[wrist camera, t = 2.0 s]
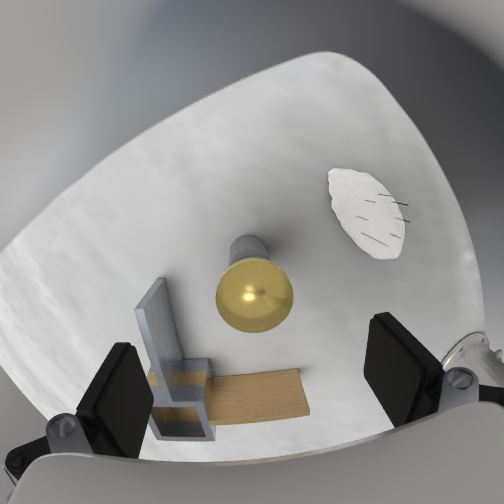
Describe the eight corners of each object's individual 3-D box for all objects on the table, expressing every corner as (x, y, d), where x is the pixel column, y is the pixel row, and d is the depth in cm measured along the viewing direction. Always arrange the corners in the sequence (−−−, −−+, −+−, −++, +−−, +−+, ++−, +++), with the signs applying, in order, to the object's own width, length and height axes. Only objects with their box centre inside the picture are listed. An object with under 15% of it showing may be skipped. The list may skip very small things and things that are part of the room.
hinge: (293, 264, 28) (311, 292, 21) (297, 390, 32) (308, 431, 25) (131, 280, 27) (103, 310, 20) (167, 399, 32) (157, 440, 25)
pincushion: (412, 235, 28) (442, 247, 22) (377, 274, 29) (402, 293, 23) (349, 150, 25) (375, 145, 20) (307, 191, 26) (324, 194, 21)
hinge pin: (269, 226, 27) (291, 257, 16) (273, 272, 28) (294, 328, 17) (221, 231, 27) (210, 266, 16) (227, 277, 28) (221, 336, 17)
